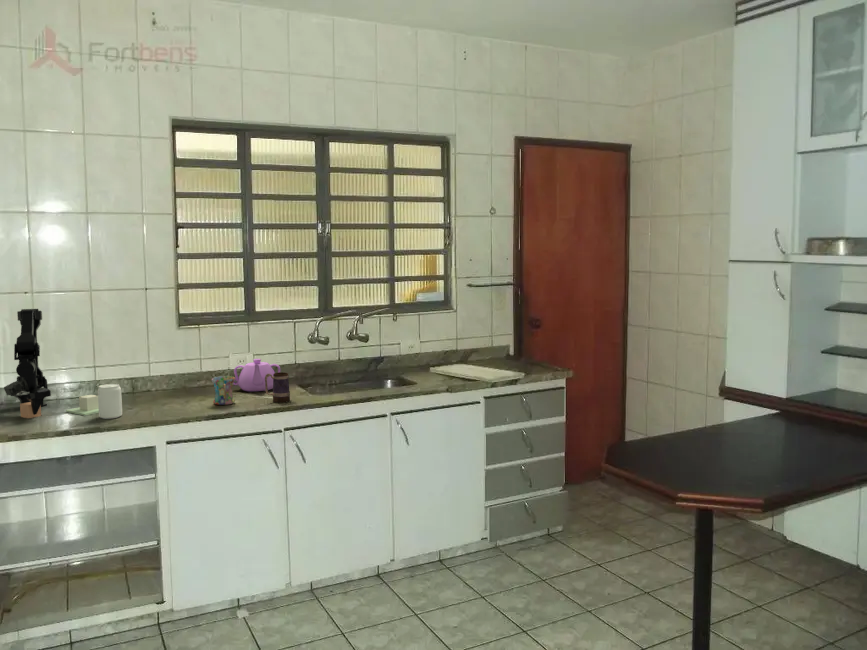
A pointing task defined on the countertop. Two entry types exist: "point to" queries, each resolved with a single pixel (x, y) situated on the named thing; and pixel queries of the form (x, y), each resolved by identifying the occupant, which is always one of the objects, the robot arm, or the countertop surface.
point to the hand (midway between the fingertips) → (30, 413)
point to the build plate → (82, 411)
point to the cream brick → (88, 402)
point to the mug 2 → (279, 387)
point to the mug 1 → (223, 390)
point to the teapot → (255, 376)
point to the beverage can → (109, 401)
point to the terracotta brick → (28, 410)
